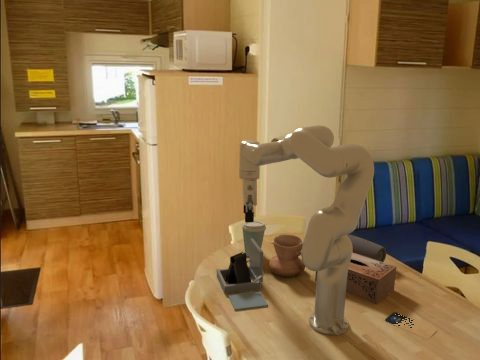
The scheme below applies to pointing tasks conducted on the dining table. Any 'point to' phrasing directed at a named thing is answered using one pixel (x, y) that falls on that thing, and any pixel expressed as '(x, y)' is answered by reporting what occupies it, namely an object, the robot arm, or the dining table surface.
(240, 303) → the slate mat
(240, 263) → the phone stand
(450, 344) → the dining table surface
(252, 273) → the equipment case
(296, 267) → the ceramic jug
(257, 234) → the disposable coffee cup
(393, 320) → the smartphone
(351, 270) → the tissue box cover
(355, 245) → the bluetooth speaker
